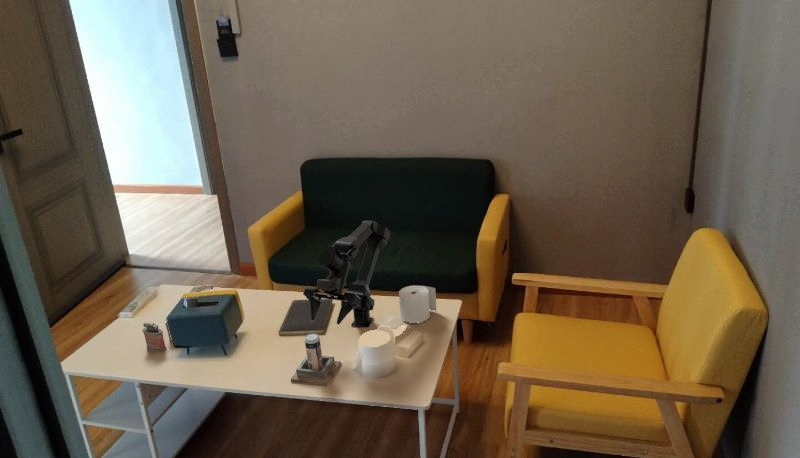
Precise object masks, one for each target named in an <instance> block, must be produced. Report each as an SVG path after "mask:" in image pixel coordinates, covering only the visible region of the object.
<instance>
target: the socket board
mask: <svg viewBox="0 0 800 458" xmlns="http://www.w3.org/2000/svg"><path fill="white" fill-rule="evenodd" d="M322 359H323V366H324V367H323V369H322V370H321V371H318V370H309V366H308V359H307V355H306V356H305V357H304V359H303V360H302V361H301V363H300V364H299V365H298V367H297V368H296V370H295V372H294V374H293V375H292V376H291V378H290V383H297V384H306V385H315V386H321V387H322V386H325V387H328V385H329V383H330V382H331V381H332V379H333V377H334V376H335V374H336V373H337V371H338V370H339V368H340V366H341V365H342V361H337V360H335V357H334V356H329V355H322Z"/></svg>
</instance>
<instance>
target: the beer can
mask: <svg viewBox="0 0 800 458" xmlns="http://www.w3.org/2000/svg"><path fill="white" fill-rule="evenodd" d="M304 344H305V345H304V346H305V351H306V356H307V359H308V366H309V370H318V371H321V370H322V369H323V367H324V366H323V359H322V356H323V354H322V352H323V351H322V346H321V345H322V344H321V337H320V335H319V334H318V333H308V334H306V336H304Z"/></svg>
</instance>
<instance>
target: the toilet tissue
mask: <svg viewBox="0 0 800 458" xmlns="http://www.w3.org/2000/svg"><path fill="white" fill-rule="evenodd" d="M436 294H437V292H436V288H435V287H431V286H426V285H409V286H405V287H402V288H401V289H400V290H399V291H398V298H399V299H398V300H399V310H400V311H399V313H400V319H401V318H402V319H403V320H405V321H406V322H409V323H408V324H411V323H417V322H422V321H425V320H426V321H428V320H429V319H430V317H431V315H430V314H431V312H430V311H433V310H435V311H434V312H437V296H436ZM429 309H430V310H429ZM429 316H430V317H429ZM428 318H429V319H428ZM402 319H401V320H402ZM427 319H428V320H427ZM426 321H425V322H426ZM406 322H405V323H406ZM422 323H423V322H422Z"/></svg>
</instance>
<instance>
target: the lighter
mask: <svg viewBox="0 0 800 458" xmlns="http://www.w3.org/2000/svg"><path fill="white" fill-rule="evenodd" d="M142 324H143V328H142V333H143V336H144V340H145V343H146V344H145V345H146V350H148V351H150V352H154V353H164V352H166V351H167V346H166V343H165V339H164V338H165V337H164V335H163V334H164V333H163V330H162V329H161V328H159V325H158V324H156V323H154V322H152V323H150V322H143V323H142Z"/></svg>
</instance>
